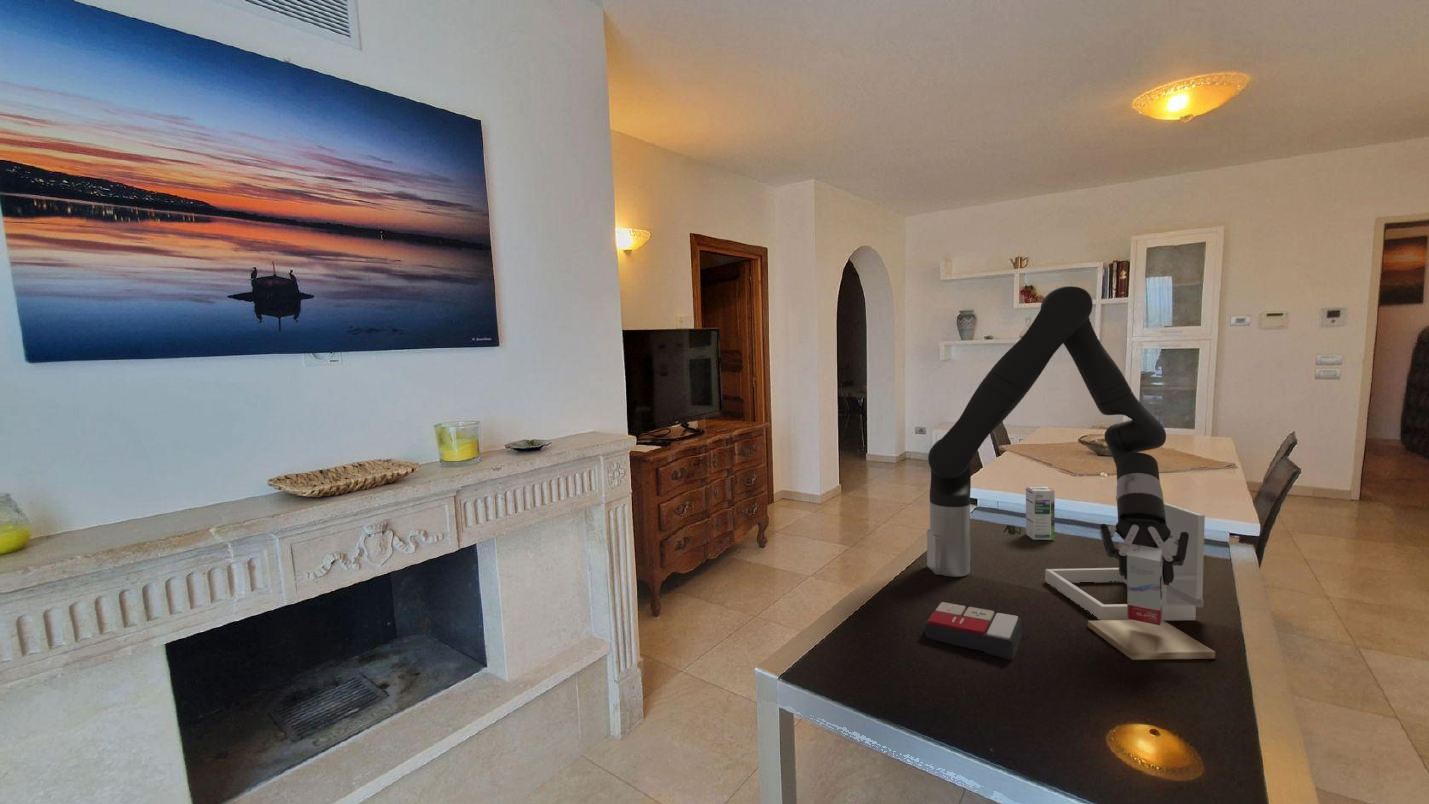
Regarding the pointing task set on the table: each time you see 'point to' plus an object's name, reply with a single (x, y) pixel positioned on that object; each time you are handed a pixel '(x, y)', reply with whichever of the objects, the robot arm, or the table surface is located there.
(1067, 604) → the table surface
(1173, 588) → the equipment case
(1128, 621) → the oak board
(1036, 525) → the syrup box
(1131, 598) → the ink box
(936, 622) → the grey red white block
